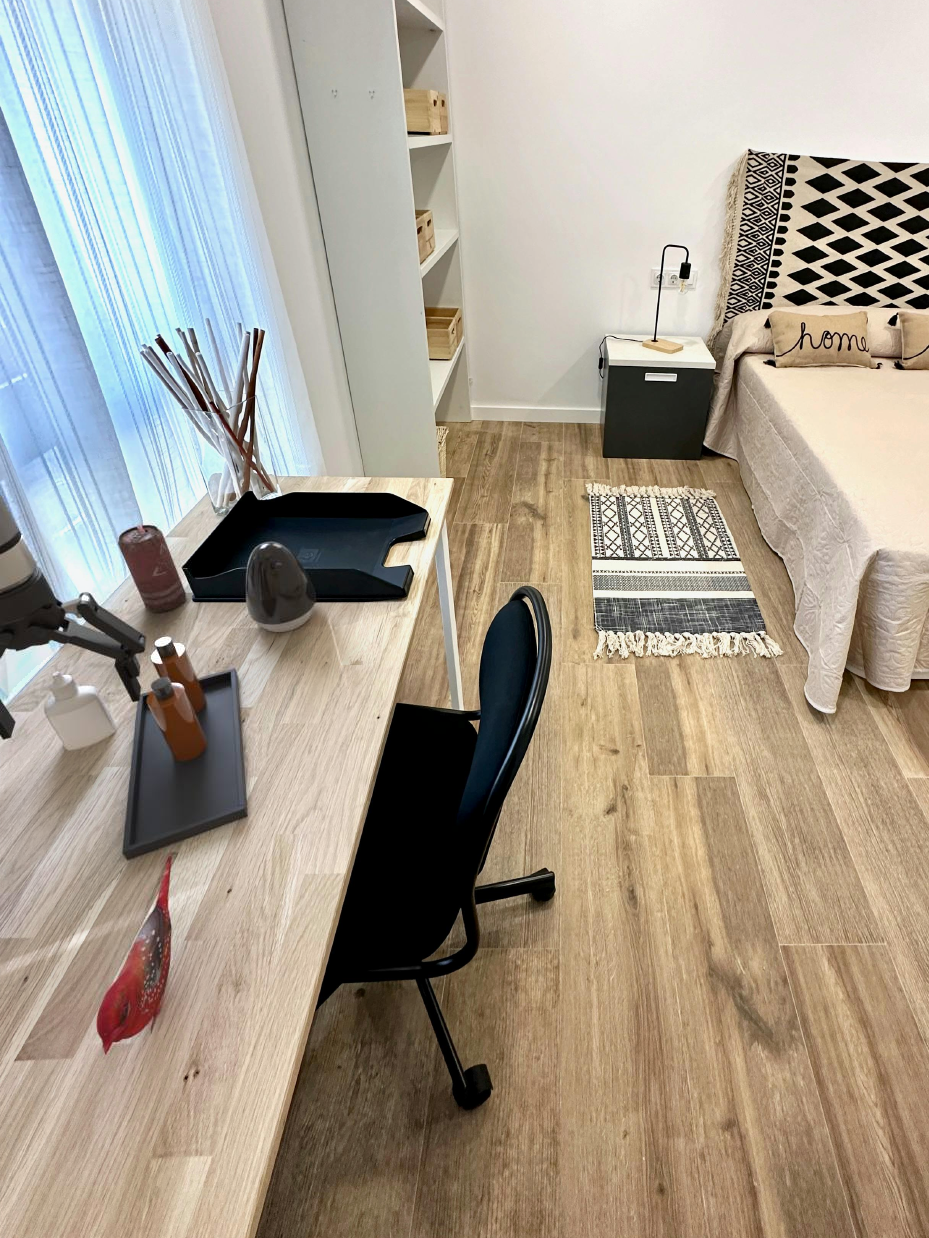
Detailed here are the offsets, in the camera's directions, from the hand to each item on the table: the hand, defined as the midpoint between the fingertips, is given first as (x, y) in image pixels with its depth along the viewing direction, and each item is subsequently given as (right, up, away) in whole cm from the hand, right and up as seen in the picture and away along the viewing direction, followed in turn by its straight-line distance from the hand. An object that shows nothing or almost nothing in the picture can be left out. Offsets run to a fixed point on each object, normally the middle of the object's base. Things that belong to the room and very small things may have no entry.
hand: (75, 712), depth 81 cm
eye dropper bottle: (0, -4, +3) cm, 6 cm away
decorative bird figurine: (+25, -20, -20) cm, 37 cm away
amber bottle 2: (+14, -5, +1) cm, 15 cm away
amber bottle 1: (+10, -1, +7) cm, 13 cm away
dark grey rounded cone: (+16, +8, +24) cm, 30 cm away
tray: (+14, -6, +1) cm, 16 cm away
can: (-6, +11, +27) cm, 30 cm away
